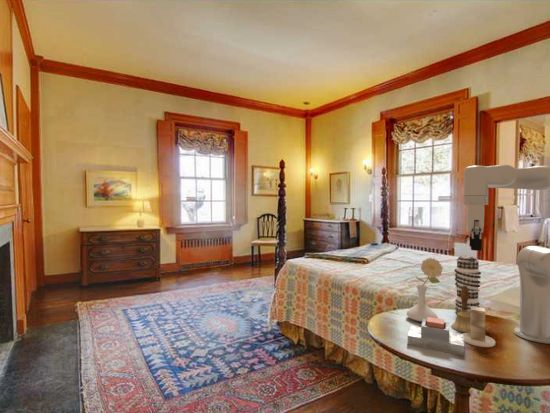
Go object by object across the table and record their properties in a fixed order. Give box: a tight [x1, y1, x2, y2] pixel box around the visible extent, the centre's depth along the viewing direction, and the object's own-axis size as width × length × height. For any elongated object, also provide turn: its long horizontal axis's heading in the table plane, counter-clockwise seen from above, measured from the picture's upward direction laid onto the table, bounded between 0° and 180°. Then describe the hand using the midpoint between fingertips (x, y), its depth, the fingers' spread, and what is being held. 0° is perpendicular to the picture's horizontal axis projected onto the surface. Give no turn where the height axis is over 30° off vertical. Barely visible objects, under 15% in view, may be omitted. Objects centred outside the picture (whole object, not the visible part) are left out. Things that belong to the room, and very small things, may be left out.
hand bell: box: [450, 286, 471, 333], centre depth 121 cm, size 8×8×16 cm
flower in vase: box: [406, 257, 444, 323], centre depth 129 cm, size 13×11×25 cm
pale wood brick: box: [470, 306, 486, 342], centre depth 110 cm, size 4×4×10 cm
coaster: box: [461, 332, 496, 348], centre depth 110 cm, size 10×10×1 cm
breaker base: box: [407, 319, 465, 356], centre depth 107 cm, size 16×10×6 cm, turn 61°
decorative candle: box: [454, 255, 482, 318], centre depth 132 cm, size 9×9×25 cm
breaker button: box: [427, 317, 445, 329], centre depth 107 cm, size 5×5×4 cm
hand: (475, 248), depth 116 cm, fingers open, 9 cm apart
